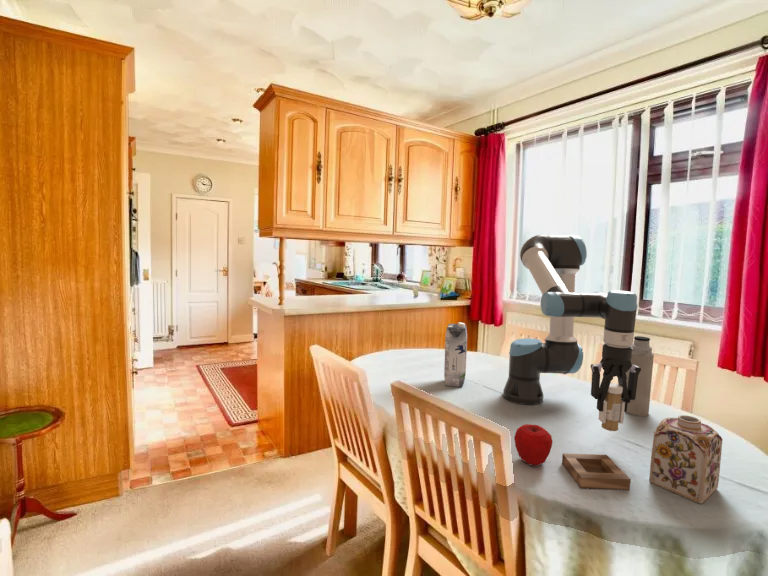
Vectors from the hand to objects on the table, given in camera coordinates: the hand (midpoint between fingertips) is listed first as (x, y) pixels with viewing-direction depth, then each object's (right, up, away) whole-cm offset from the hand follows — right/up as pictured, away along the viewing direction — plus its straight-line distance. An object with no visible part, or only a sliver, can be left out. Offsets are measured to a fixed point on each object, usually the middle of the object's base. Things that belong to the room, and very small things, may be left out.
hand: (610, 421), depth 123 cm
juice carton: (-36, -2, +58) cm, 69 cm away
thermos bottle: (+26, -6, +30) cm, 40 cm away
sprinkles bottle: (0, -2, 0) cm, 2 cm away
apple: (-26, -10, -7) cm, 28 cm away
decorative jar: (+9, -11, -17) cm, 22 cm away
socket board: (-12, -10, -13) cm, 20 cm away
